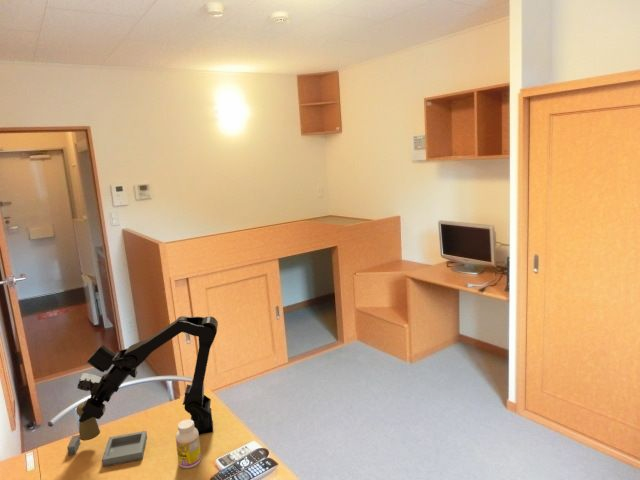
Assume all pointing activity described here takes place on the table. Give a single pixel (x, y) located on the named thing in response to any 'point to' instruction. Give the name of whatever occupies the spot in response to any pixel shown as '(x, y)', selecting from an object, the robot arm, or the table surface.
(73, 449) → the bar
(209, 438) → the table surface
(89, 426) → the cork
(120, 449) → the tray
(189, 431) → the supplement bottle
